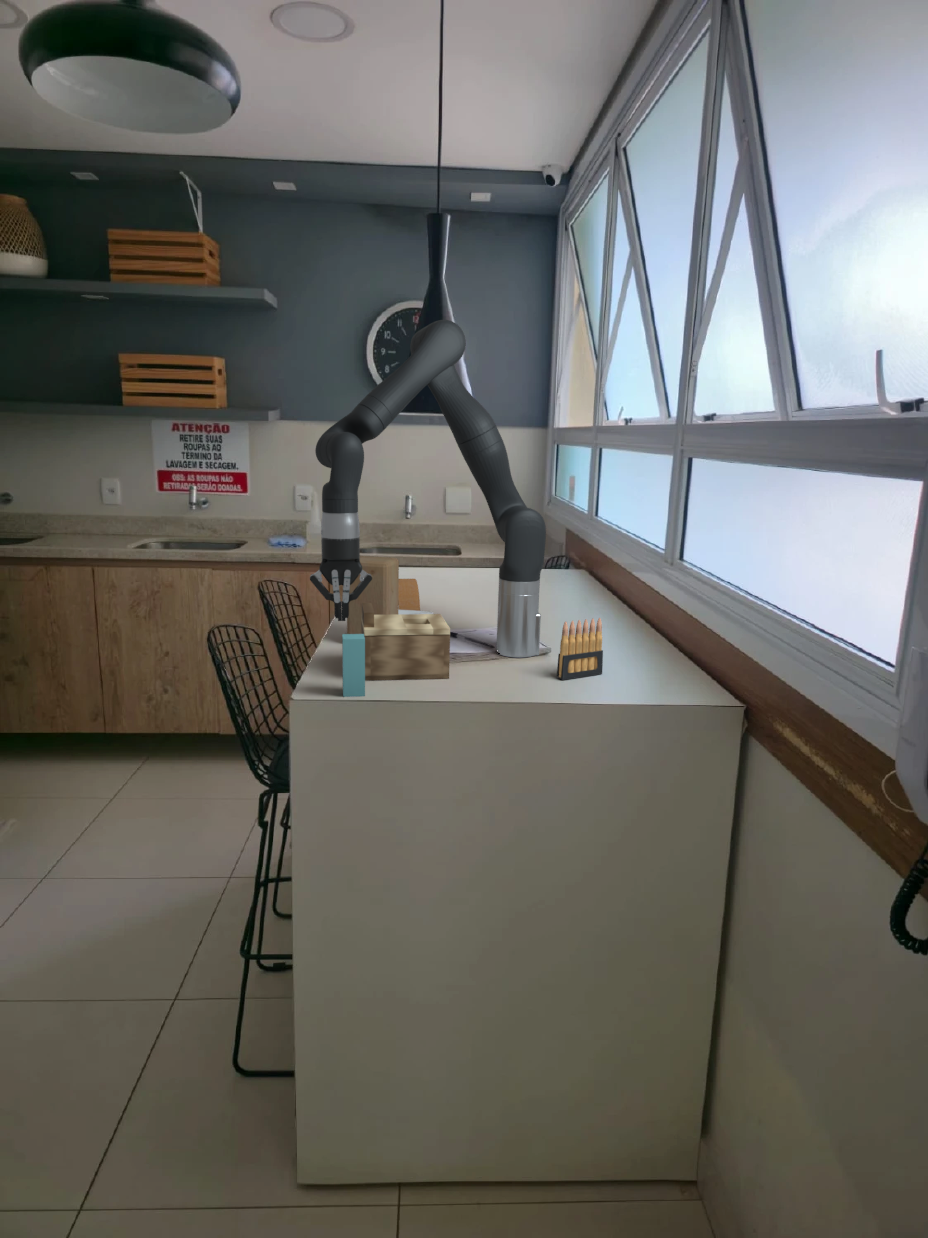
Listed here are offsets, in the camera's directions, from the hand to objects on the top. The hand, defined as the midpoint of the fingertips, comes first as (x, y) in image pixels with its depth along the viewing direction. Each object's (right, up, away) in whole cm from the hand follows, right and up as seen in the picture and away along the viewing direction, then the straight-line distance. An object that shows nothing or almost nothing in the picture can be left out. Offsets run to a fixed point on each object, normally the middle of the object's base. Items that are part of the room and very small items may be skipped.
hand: (341, 620), depth 162 cm
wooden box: (+12, -10, +4) cm, 17 cm away
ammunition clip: (+49, -12, +4) cm, 50 cm away
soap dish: (+11, -3, +38) cm, 40 cm away
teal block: (+4, -14, -12) cm, 19 cm away
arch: (+9, +1, +59) cm, 60 cm away
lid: (+13, -1, +2) cm, 13 cm away
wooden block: (+3, -6, +27) cm, 28 cm away
